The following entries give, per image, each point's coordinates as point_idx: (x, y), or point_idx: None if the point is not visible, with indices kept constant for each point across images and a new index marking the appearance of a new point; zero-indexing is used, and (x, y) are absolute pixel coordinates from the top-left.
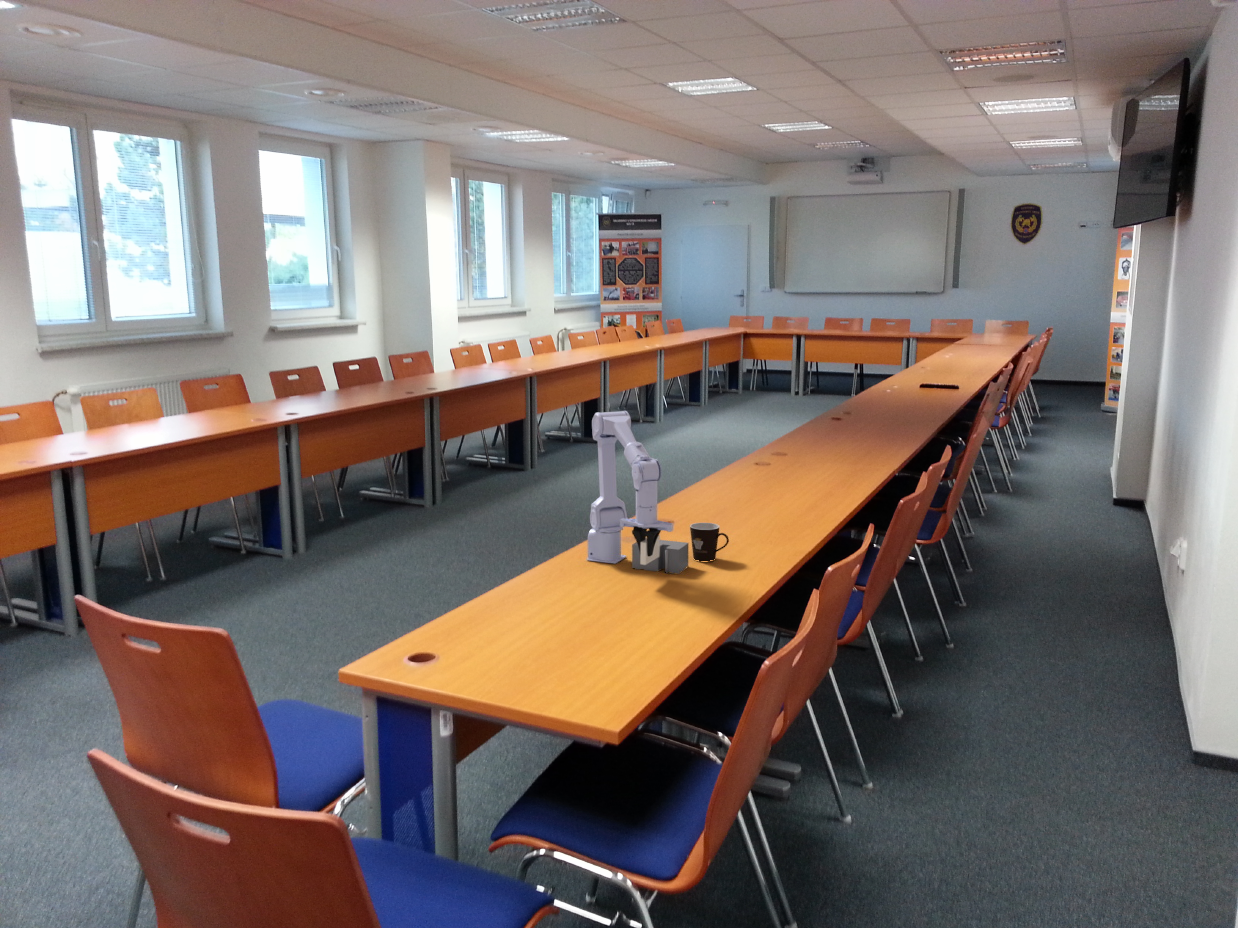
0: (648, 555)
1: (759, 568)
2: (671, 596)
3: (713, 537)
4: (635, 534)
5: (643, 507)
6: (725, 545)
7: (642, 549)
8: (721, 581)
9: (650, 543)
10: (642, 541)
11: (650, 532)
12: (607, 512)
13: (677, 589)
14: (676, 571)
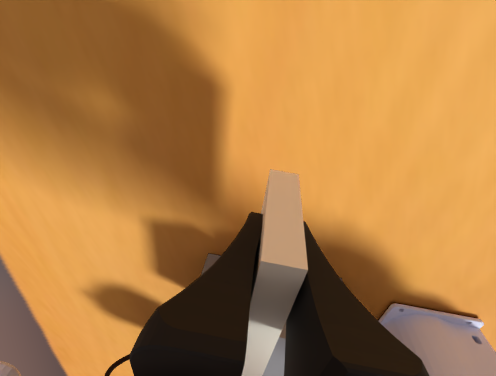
0: (257, 214)
1: (68, 297)
2: (142, 26)
3: None
4: (376, 343)
5: None
6: (120, 359)
7: (289, 225)
8: (84, 216)
9: (226, 260)
10: (296, 286)
11: (177, 348)
12: None
13: (158, 123)
14: (212, 259)
